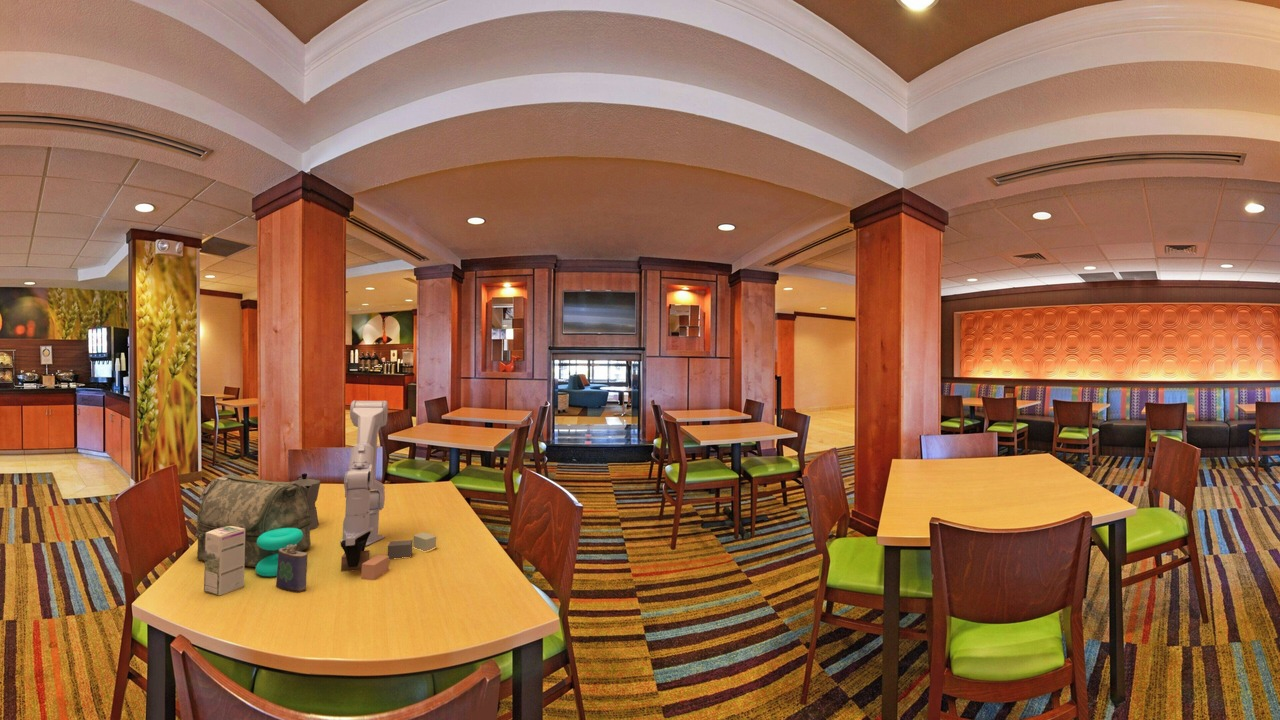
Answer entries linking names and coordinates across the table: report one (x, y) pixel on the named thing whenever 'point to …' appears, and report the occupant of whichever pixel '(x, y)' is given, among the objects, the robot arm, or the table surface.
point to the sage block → (424, 541)
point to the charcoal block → (399, 549)
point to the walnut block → (363, 558)
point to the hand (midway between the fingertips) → (355, 562)
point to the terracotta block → (375, 567)
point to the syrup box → (224, 560)
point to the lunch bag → (252, 512)
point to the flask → (291, 569)
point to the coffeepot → (310, 496)
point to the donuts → (275, 547)
